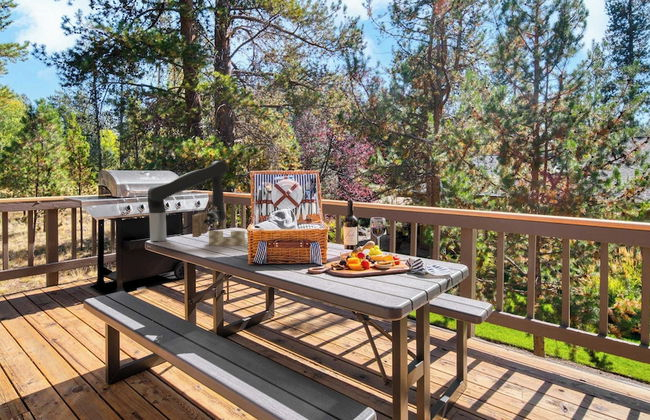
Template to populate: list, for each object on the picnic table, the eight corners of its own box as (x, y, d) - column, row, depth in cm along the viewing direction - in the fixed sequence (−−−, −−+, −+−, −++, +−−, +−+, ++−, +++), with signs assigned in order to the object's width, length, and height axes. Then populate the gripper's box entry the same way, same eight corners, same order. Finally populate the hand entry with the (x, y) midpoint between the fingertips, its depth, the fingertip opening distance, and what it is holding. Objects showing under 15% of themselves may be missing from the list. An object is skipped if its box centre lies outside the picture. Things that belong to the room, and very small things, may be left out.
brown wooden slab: (202, 232, 250) (202, 212, 249) (207, 232, 250) (207, 212, 249) (192, 237, 232) (192, 215, 231) (197, 237, 232) (197, 215, 231)
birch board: (209, 245, 240) (208, 231, 240) (210, 244, 243) (210, 230, 242) (244, 245, 240) (243, 231, 239) (244, 244, 243) (244, 230, 242)
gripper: (198, 212, 261) (189, 215, 243) (221, 212, 261) (213, 215, 243) (199, 224, 261) (189, 227, 244) (221, 224, 261) (214, 228, 244)
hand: (201, 221), depth 244 cm, fingers closed on brown wooden slab, 3 cm apart
